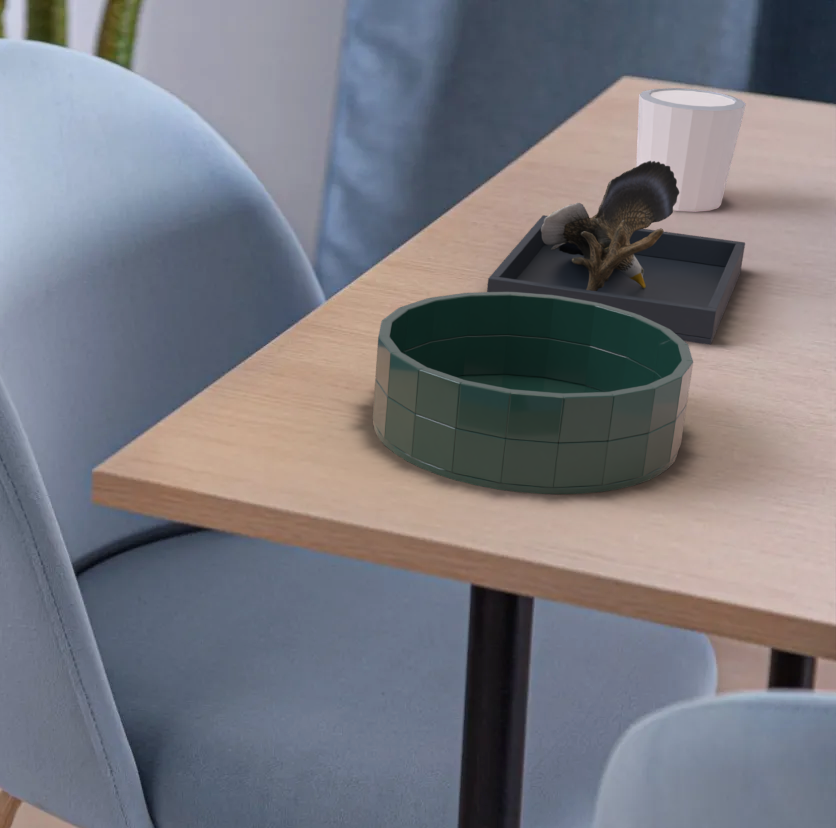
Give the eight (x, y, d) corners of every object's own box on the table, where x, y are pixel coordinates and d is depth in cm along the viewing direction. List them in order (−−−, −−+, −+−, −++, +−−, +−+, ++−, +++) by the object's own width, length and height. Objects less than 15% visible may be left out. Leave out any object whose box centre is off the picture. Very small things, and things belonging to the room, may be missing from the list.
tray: (539, 247, 106) (542, 214, 106) (740, 275, 103) (745, 242, 102) (484, 314, 94) (488, 278, 94) (710, 348, 91) (716, 311, 90)
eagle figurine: (696, 293, 94) (706, 220, 101) (636, 181, 91) (650, 115, 98) (569, 346, 98) (587, 273, 105) (507, 241, 95) (530, 172, 102)
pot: (433, 362, 87) (441, 274, 85) (706, 415, 82) (721, 323, 81) (325, 456, 76) (331, 357, 74) (634, 524, 71) (649, 420, 69)
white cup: (731, 221, 114) (748, 112, 111) (624, 210, 115) (638, 103, 112) (728, 195, 120) (744, 91, 117) (626, 185, 121) (640, 82, 118)
